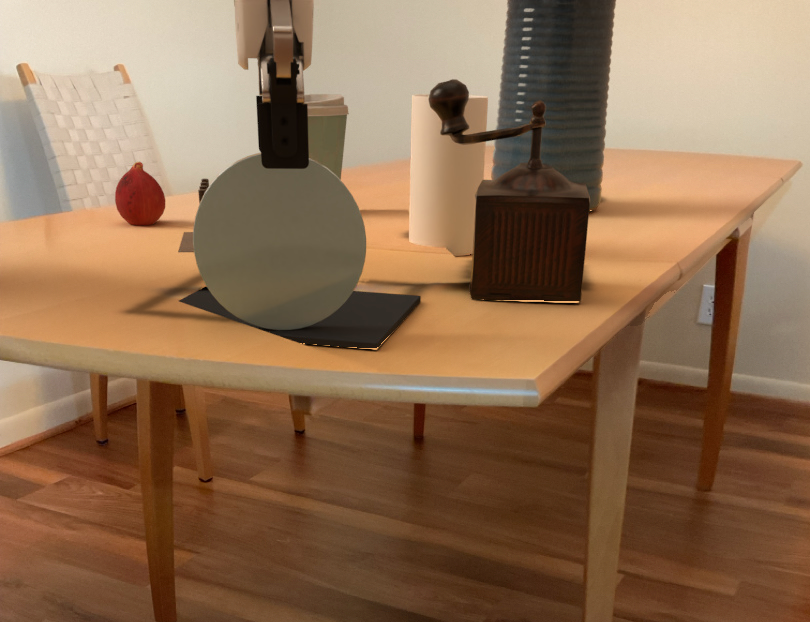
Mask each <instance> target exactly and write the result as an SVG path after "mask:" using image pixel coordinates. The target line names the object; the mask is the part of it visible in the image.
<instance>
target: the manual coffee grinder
mask: <svg viewBox="0 0 810 622" xmlns="http://www.w3.org/2000/svg"><path fill="white" fill-rule="evenodd" d="M429 94H430V95H429V99H428V100H429V104H430V107H431V108H432V109H433V110H434V111H435V112H436V114H437V115H438V116H439V118H440V119H441V121H442V129H441V131H440V134H441V135H448V136H450V137H451V139H452V140H453V141H454V142H455V143H458V144H461V145H467V144H475V143H480V142H486V143H487V142H492V141H494V140H498V139H504V138H510V137H516V136H520V135H522V134H524V133H526V132H528V131H530V130H532V138H531V153H530V159H529V161H528V163H520V164H519V165H518V166H516V167H515V168H513V169H512V170H509V171H508V172H506V173H504V174H502V175H501V176H500V177H499V178H498V179H497V180H492V179H484V180H482V181H481V183H480V185H479V187H478V190H477V192H476V194H475V199H476V207H475V222H474V238H473V254H471V270H470V280H469V281H470V282H469V284H468V285H469V286H468V292H470V293H469V295H471V296H470V299H471V298H472V299H471V300H474V299H484V300H544V301H580V302H581V300H582V297H583V293H582V292H583V291H582V286H583V278H584V269H585V262H586V261H585V260H586V258H585V257H586V250H587V249H586V248H587V239H588V229H589V217H590V215H589V214H590V212H589V206H590V196H589V193H588V190H587V187H586V185H585V183H574V182H571V181H569V180H568V179H567V178H566V177H564V176H563V175H562V174H561V173H560V172H558V171H556V170H555V169H554V168H553V167H551V166H550V165H547V164H542V161H541V159H540V151H541V137H542V128H543V127H544V126H546V121H545V119H544V117H543V115H544V113H545V110H546V105H545V104H544V102H542V101H537V102H534V104H533V106H532V107H531V109H532V114H533V117H532V118H531V119H530V123H529V124H525V125H521V126H518V127H515V128H506V129H499V130H495V129H493V130H486V132H480V133H475V134H467V135H463V132H465V131H466V130H468V129H469V125H468V124H467V122H466V120H465V118H464V111H465V106H466V104H467V102H468V99H469V95H470V91H469V89H468V86H467V85H466V84H465V83H463V82H462V81H460V80H459V79H456V78H455V79H454V78H452V79H449V80H445V81H442V82H438V83H437V84H436V85H435V86H434V87H433V88H432V89H431V90H430V92H429Z"/></svg>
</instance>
